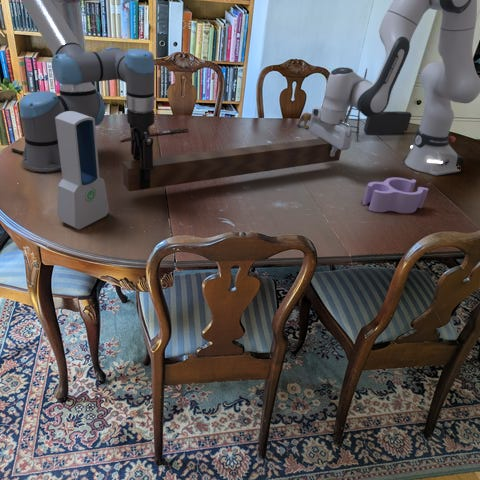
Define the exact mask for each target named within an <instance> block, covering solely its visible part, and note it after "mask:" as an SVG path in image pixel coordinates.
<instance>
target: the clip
mask: <svg viewBox="0 0 480 480" xmlns="http://www.w3.org/2000/svg"><path fill="white" fill-rule="evenodd" d="M416 183H417V180H416V179H415V178H412V179H407V178H404V177H388V178H386V179H385V180H383V181H371V182H368V183H367V186H366V190H365V193H364V197H363V201H362V205H364V206H367V205H368V204H369V207H368V210H369V211H371V212H373V213H374V212H375V213H385V212H395V213H399V214H413V213H414V212H416V211H417V209H422V208H423V206H424V203H425V201H426V198H427V195H428V193H429V188H427V187H423V186H418V187H417V189H416V191H414V190H415V187H416Z"/></svg>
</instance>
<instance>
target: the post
mask: <svg viewBox="0 0 480 480" xmlns="http://www.w3.org/2000/svg"><path fill="white" fill-rule="evenodd" d="M332 149H333V148H332V145H331V144H330V143H328V142H326V141H325V140H323V139H321V138H319V139H317V138H312V139H304V140H295V141H286V142H279V143H270V144H262V145H261V144H260V145H253V146H245V147H235V148H229V149H228V148H227V149H220V150H213V151H212V150H211V151H202V152H195V153H194V152H193V153H186V154H178V155H170V156H169V155H168V156H162V157H161V156H160V157H153V170H150V188H148V189H147V190H149V189H156V188H164V187H170V186H176V185H177V186H178V185H182V184H183V185H184V184H189V183H190V184H191V183H196V182H204V181H209V180H210V181H211V180H217V179H224V178H231V177H236V176H243V175H250V174H256V173H257V174H258V173H264V172H271V171H276V170H277V171H279V170H284V169H291V168H297V167H305V166H310V165H317V164H324V163H331V162H338V161H340V157H341V153H342V150H340V149H338V150H337V151H336V152H335V155H334V156H333V157H331V156H329V151H331V150H332ZM139 168H141V159H140V160H128V161H127V160H126V161H122V169H123V170H122V175H123V186H124V187H125V188H126V190H127V191H128V192H129V193H130V192H135V191H136V192H137V191H144V190H145V189H142V190H141V183H140V170H139Z"/></svg>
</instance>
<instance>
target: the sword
mask: <svg viewBox="0 0 480 480" xmlns="http://www.w3.org/2000/svg"><path fill="white" fill-rule="evenodd" d="M183 131H189V129H188V128H178V129H168V130H163V131H159V132H150V137H151V136H156V135H163V134H173V133H177V132H183ZM129 140H131V136H130V137H125V138H123V139H121V140H120V142H126V141H129Z"/></svg>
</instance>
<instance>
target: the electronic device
mask: <svg viewBox="0 0 480 480" xmlns="http://www.w3.org/2000/svg"><path fill="white" fill-rule="evenodd" d="M55 122H56V130H57V138H58V146H59V154H60V162H61V170H60V171H61V177H62V178H61V180H60V181H59V183H58V185H57V200H56V202H57V203H56V215H57V217H58V219H59V221H61V222H62V223H64V224H66V225H67V226H70V227H72V228H74V229H77V230H79V231H80V230H82V229H83V228H85V227H87V226H88V225H89V226H90V225H91V224H93V223H95V222H97V221H99V220H100V219H103V218H104V217H106V216H107V215H108V214H109V211H110V208H109V207H110V206H109V202H108V195H107V190H106V183H105V179H104V178H102V177H100V168H99V167H100V166H99V156H98V155H99V154H98V142H97V131H96V129H97V128H96V126H95V118H92V117H89V116H86V115H84V114H81V113H78V112H74V111H66V112H63V113H61V114H59V115H58V116H57V117H55Z"/></svg>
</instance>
